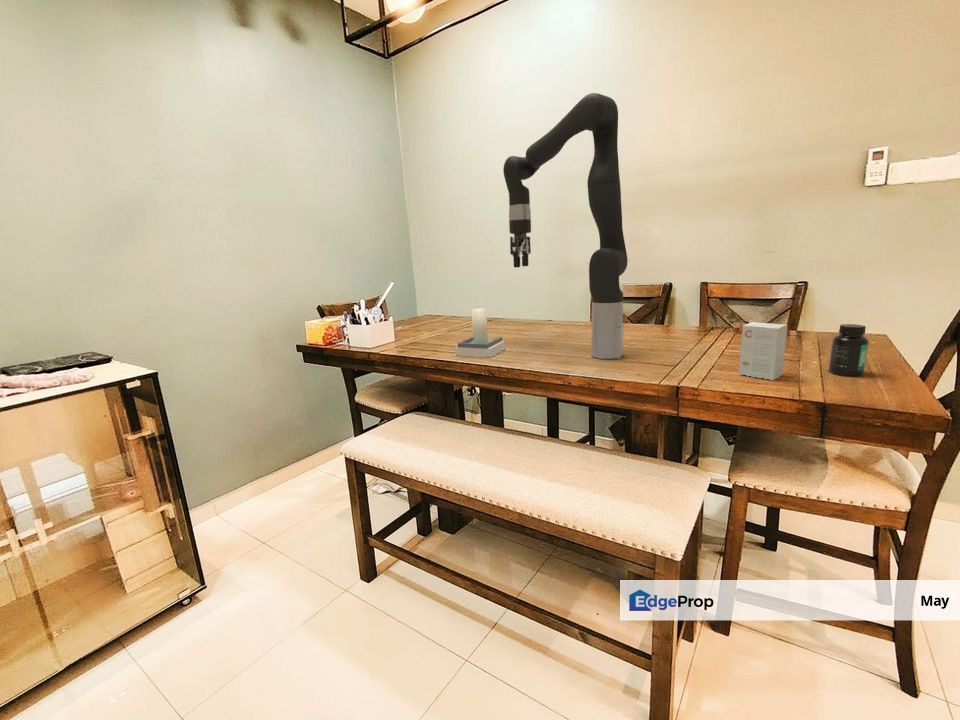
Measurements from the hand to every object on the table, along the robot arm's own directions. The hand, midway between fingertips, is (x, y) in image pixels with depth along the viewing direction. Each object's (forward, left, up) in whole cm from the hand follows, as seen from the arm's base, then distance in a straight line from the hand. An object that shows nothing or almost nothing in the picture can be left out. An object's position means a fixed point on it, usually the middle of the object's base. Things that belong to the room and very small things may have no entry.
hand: (521, 266), depth 156 cm
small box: (-72, +24, -28) cm, 81 cm away
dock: (+10, +16, -28) cm, 34 cm away
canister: (+10, +16, -25) cm, 31 cm away
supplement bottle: (-91, +17, -28) cm, 97 cm away
